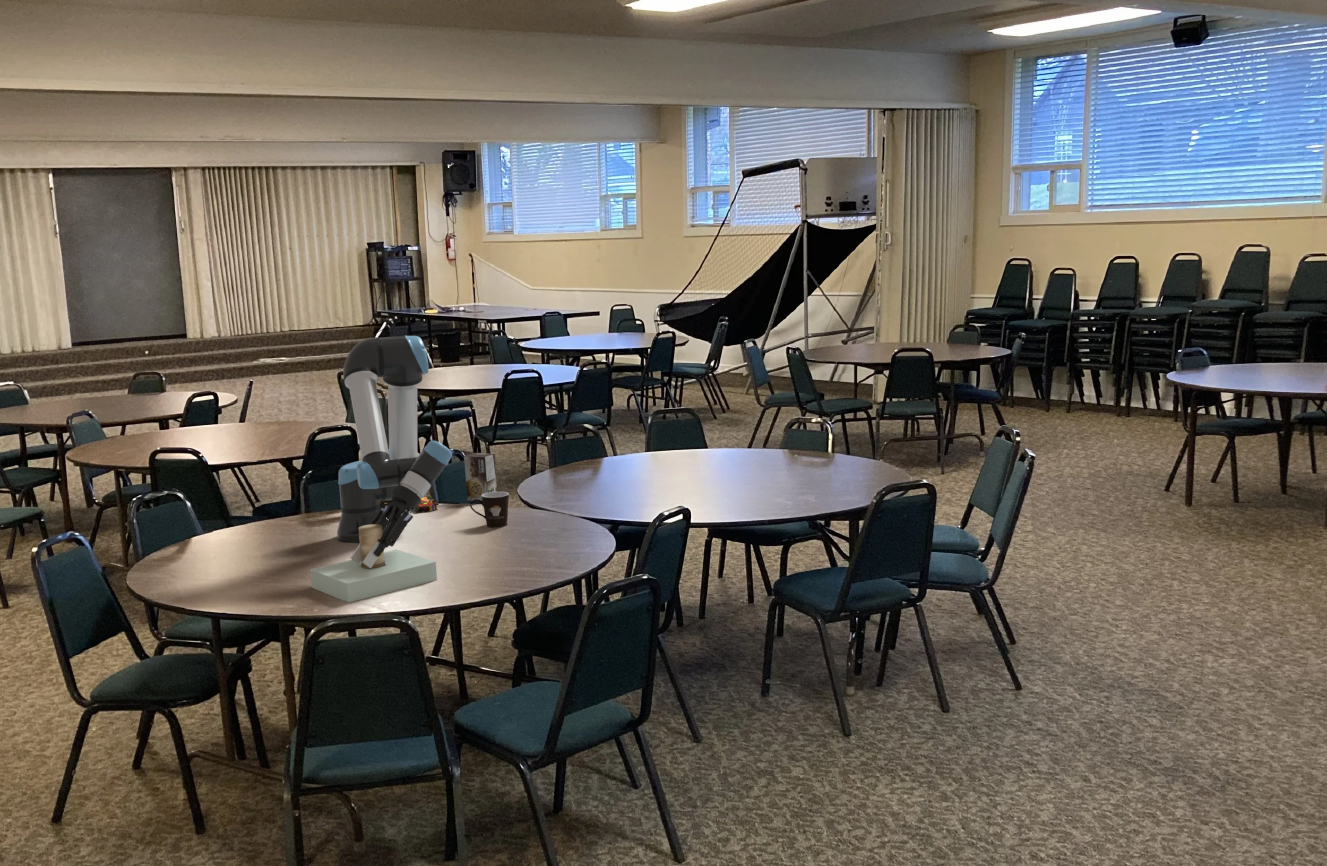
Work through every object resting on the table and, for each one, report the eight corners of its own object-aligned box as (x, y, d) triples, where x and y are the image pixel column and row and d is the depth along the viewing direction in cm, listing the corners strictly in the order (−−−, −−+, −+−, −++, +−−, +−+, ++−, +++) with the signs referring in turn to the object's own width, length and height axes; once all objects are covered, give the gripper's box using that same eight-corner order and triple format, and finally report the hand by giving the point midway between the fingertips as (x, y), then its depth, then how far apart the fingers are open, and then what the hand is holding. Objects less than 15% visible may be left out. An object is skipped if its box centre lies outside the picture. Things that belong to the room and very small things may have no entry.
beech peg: (358, 582, 308) (354, 527, 306) (379, 577, 312) (374, 523, 310) (370, 586, 304) (365, 531, 301) (390, 581, 308) (386, 526, 306)
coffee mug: (515, 522, 372) (513, 492, 370) (503, 529, 364) (501, 498, 362) (482, 521, 375) (481, 490, 374) (470, 527, 367) (468, 496, 366)
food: (379, 519, 385) (378, 509, 384) (371, 509, 402) (370, 499, 402) (444, 512, 393) (444, 501, 392) (434, 502, 410) (433, 492, 410)
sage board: (311, 587, 307) (310, 569, 306) (398, 566, 324) (396, 549, 323) (348, 602, 292) (347, 583, 291) (437, 579, 310) (435, 561, 309)
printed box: (498, 498, 409) (495, 453, 407) (488, 502, 403) (485, 456, 401) (476, 496, 413) (473, 452, 410) (466, 500, 407) (463, 455, 405)
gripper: (438, 504, 308) (388, 577, 300) (401, 495, 322) (352, 564, 314) (419, 488, 304) (368, 561, 296) (383, 479, 318) (333, 549, 309)
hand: (360, 562), depth 305 cm, fingers closed on beech peg, 6 cm apart
